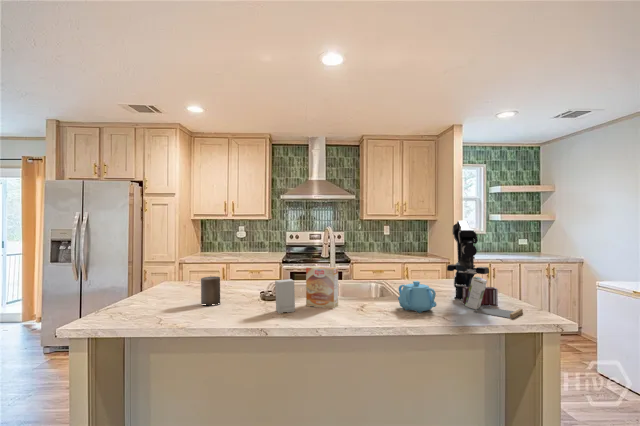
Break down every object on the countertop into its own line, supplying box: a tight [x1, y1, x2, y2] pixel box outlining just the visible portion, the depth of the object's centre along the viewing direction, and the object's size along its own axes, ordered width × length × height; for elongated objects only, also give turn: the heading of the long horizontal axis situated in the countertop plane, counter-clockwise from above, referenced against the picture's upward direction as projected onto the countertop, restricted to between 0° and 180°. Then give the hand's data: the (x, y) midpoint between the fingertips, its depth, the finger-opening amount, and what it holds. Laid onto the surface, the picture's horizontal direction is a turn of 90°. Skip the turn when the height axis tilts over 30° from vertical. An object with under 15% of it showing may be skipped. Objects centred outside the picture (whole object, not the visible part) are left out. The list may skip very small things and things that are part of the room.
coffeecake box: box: [305, 265, 339, 309], centre depth 186 cm, size 15×7×20 cm, turn 68°
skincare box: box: [274, 278, 296, 314], centre depth 175 cm, size 8×6×15 cm
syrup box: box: [464, 276, 488, 311], centre depth 178 cm, size 6×6×14 cm
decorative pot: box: [397, 280, 437, 314], centre depth 177 cm, size 16×16×14 cm
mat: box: [473, 306, 524, 320], centre depth 170 cm, size 17×13×2 cm
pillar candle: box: [200, 276, 221, 305], centre depth 192 cm, size 10×10×15 cm
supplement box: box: [462, 286, 499, 307], centre depth 187 cm, size 9×5×16 cm
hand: (467, 286), depth 181 cm, fingers closed
